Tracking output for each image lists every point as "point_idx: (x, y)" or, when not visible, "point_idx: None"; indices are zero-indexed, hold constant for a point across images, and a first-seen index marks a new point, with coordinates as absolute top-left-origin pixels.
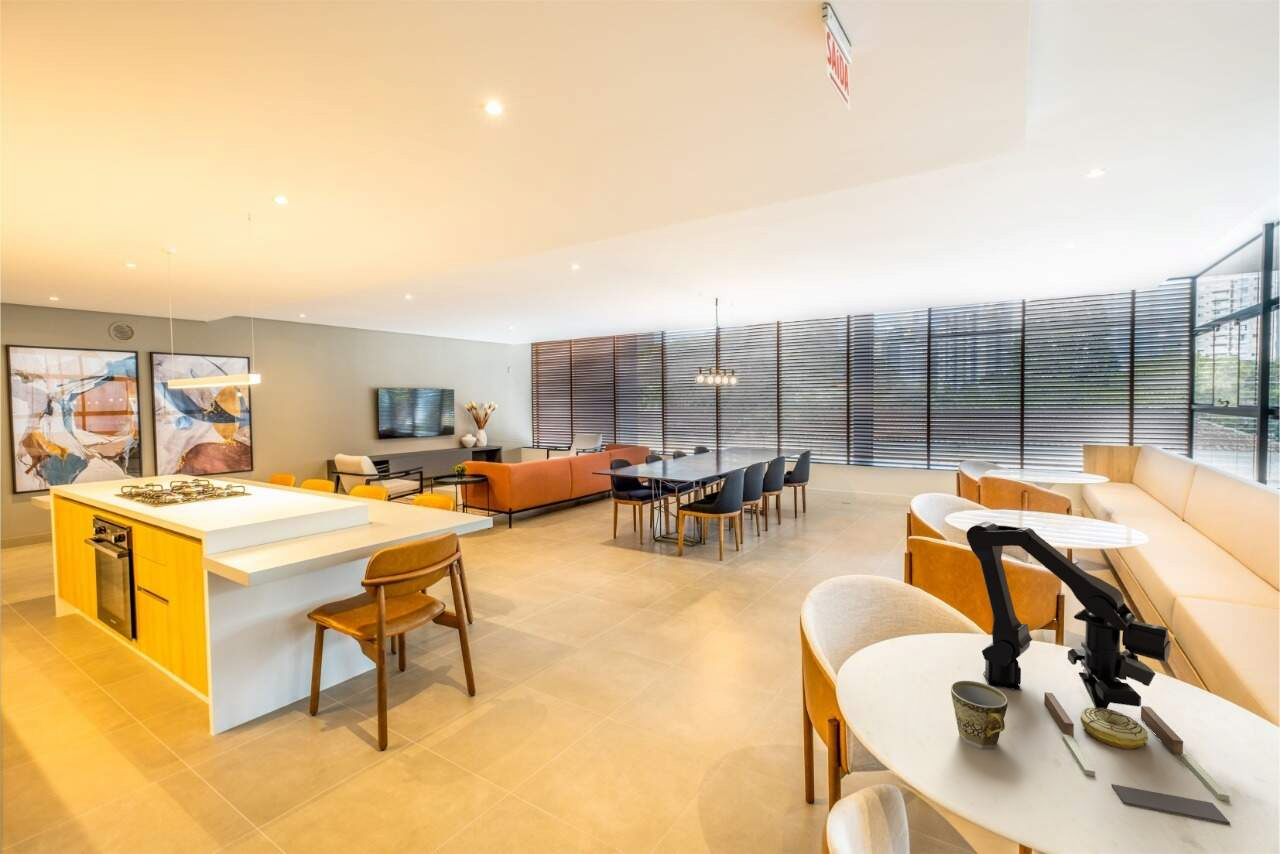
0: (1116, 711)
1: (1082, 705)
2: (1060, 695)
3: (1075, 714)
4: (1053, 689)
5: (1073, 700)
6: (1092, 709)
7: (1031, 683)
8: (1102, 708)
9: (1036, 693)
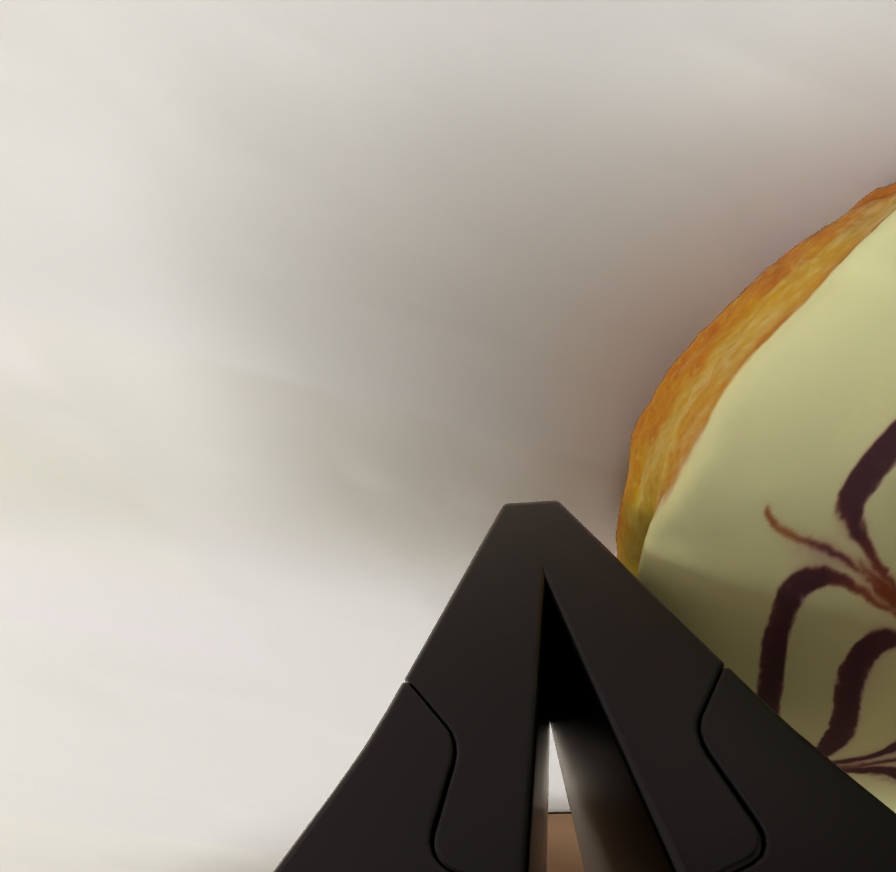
0: (872, 515)
1: (256, 580)
2: (123, 714)
3: None
4: (9, 738)
5: (171, 633)
6: None
7: (17, 855)
8: (818, 717)
9: (224, 860)
